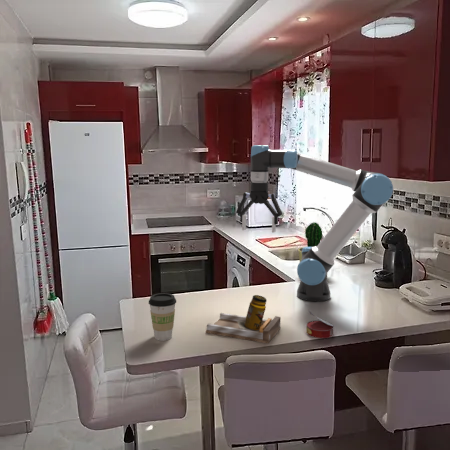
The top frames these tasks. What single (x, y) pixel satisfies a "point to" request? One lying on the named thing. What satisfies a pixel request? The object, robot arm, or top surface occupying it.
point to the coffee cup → (162, 315)
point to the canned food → (319, 328)
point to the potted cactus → (312, 236)
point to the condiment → (254, 314)
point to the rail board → (231, 329)
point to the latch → (265, 324)
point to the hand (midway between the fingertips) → (258, 230)
